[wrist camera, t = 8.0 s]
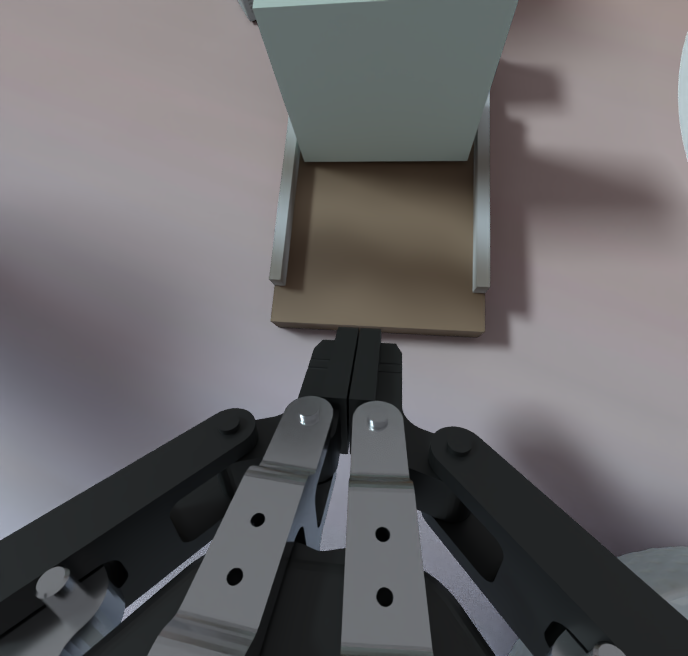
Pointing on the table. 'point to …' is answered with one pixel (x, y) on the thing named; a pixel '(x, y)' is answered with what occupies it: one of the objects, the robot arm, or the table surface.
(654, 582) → the cereal bowl
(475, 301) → the track
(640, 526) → the table surface
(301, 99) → the pale green rectangular block
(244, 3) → the coffee box
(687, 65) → the lazy susan
